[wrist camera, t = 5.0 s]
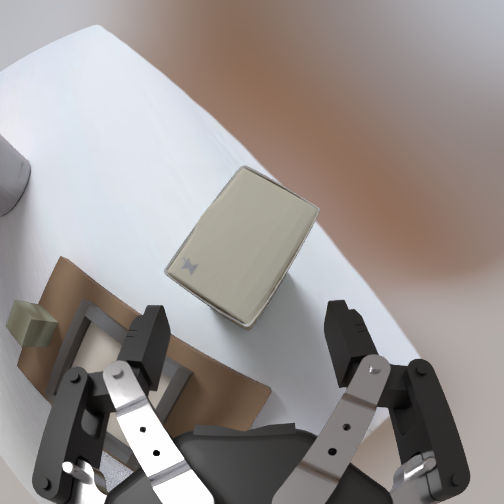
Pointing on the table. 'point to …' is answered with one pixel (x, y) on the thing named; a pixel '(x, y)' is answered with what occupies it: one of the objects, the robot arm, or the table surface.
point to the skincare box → (243, 246)
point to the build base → (107, 350)
